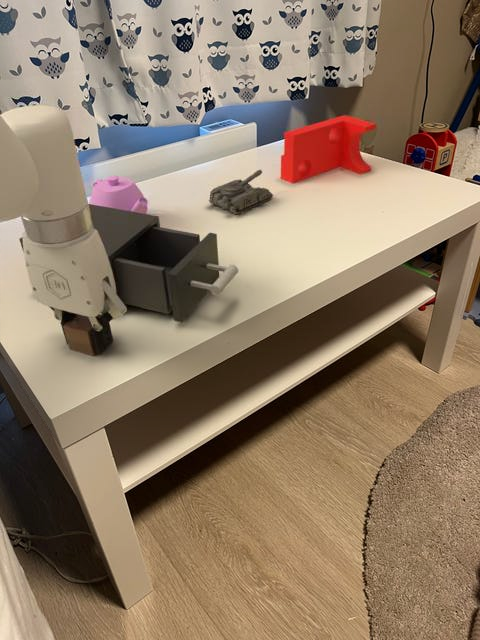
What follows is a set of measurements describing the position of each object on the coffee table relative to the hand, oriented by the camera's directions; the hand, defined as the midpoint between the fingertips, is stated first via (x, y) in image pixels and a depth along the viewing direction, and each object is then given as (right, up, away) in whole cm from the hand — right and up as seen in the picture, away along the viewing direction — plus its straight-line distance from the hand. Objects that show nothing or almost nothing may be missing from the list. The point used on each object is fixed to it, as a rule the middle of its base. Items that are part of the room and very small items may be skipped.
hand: (90, 342), depth 71 cm
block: (0, 0, 0) cm, 0 cm away
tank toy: (+21, +27, +35) cm, 49 cm away
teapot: (-2, +21, +29) cm, 36 cm away
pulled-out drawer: (+10, +7, +8) cm, 15 cm away
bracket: (+40, +35, +46) cm, 70 cm away
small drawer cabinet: (-2, +9, +13) cm, 16 cm away
